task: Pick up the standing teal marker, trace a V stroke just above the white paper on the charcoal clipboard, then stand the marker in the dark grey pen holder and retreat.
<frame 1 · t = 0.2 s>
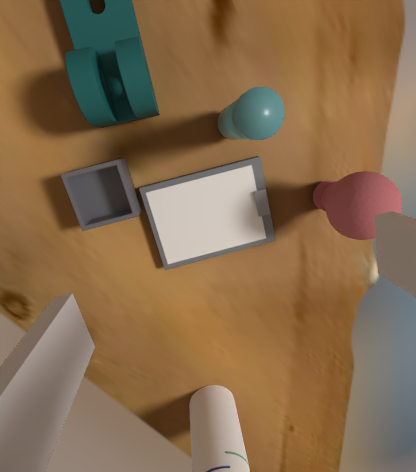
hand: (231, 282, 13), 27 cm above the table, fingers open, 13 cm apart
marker: (230, 123, 37), on the table
light bulb: (324, 192, 41), on the table
pen holder: (107, 191, 38), on the table
cylindrical container: (211, 402, 49), on the table
bracket: (108, 34, 33), on the table
clipboard: (209, 213, 40), on the table
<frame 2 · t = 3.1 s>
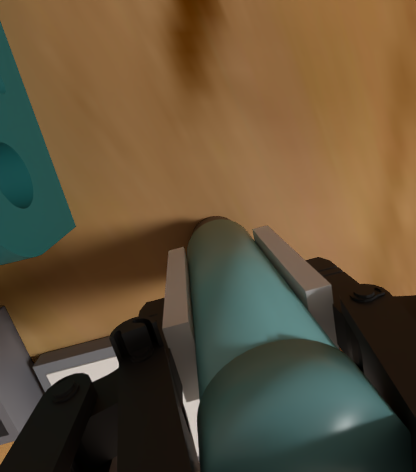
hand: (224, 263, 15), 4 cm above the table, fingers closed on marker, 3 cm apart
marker: (216, 240, 19), on the table, touching gripper
clipboard: (177, 390, 22), on the table
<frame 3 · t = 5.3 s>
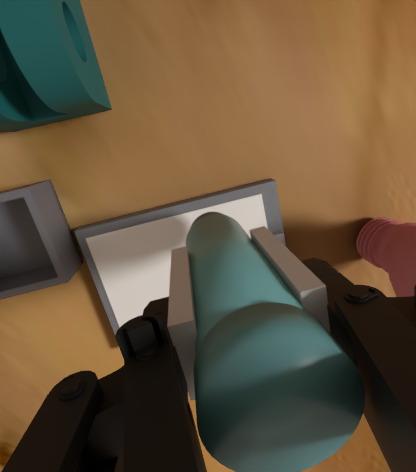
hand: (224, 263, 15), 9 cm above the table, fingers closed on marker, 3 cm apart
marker: (212, 234, 20), point 4 cm above the table, touching gripper
light bulb: (373, 234, 26), on the table
pen holder: (24, 233, 23), on the table
clipboard: (193, 266, 25), on the table
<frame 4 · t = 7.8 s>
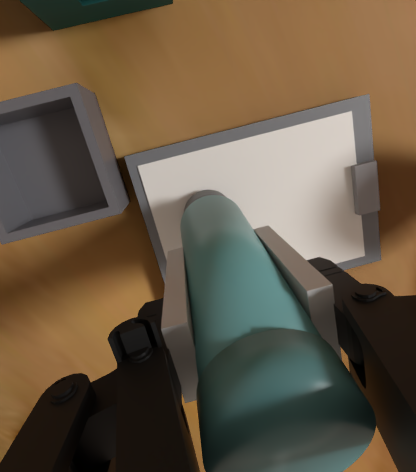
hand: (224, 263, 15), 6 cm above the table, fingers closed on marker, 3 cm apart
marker: (207, 213, 19), point 2 cm above the table, tilted 8°, touching gripper
pen holder: (61, 163, 19), on the table
clipboard: (259, 209, 21), on the table
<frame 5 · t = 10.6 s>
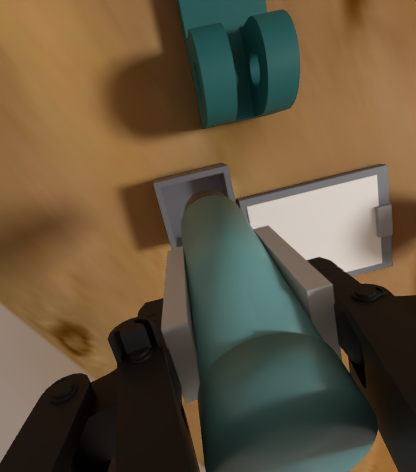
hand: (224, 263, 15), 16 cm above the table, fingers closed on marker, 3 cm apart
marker: (208, 213, 19), point 12 cm above the table, tilted 9°, touching gripper
pen holder: (197, 203, 31), on the table
bracket: (218, 12, 27), on the table
clipboard: (315, 232, 33), on the table
when the fingers open (5 cm above the table, at t = 12.6 s): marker stays where it is, resting on pen holder.
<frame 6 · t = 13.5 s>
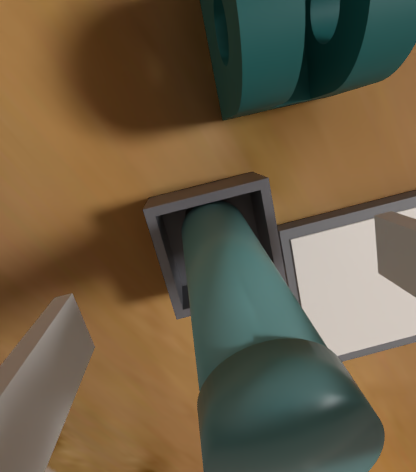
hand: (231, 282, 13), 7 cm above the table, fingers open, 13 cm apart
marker: (209, 218, 19), point 1 cm above the table, tilted 8°, touching pen holder
pen holder: (212, 234, 20), on the table
clipboard: (387, 272, 22), on the table
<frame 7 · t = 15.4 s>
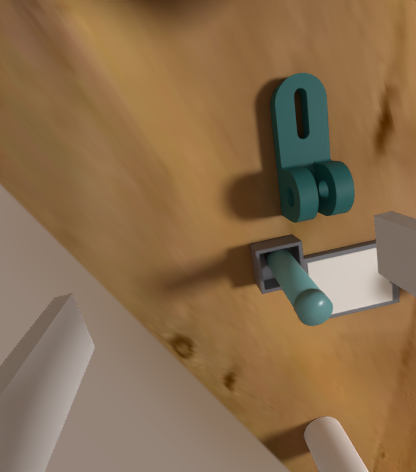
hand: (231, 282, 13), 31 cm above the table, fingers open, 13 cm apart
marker: (274, 253, 46), point 1 cm above the table, tilted 8°, touching pen holder
pen holder: (273, 259, 47), on the table
cylindrical container: (322, 431, 58), on the table
bracket: (297, 147, 43), on the table
clipboard: (348, 278, 49), on the table
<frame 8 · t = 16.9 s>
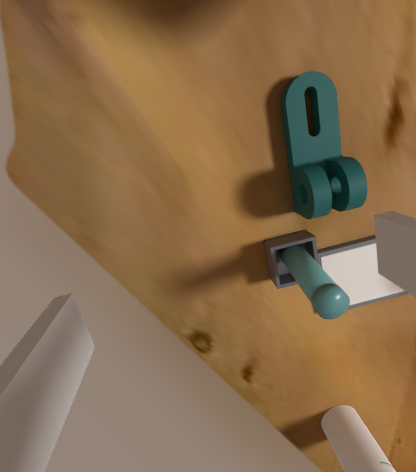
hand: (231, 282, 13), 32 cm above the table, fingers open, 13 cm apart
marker: (288, 248, 47), point 1 cm above the table, tilted 8°, touching pen holder
pen holder: (287, 254, 48), on the table
cylindrical container: (338, 419, 59), on the table
bracket: (308, 145, 44), on the table
clipboard: (362, 270, 50), on the table
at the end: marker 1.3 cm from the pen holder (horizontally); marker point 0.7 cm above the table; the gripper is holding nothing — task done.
